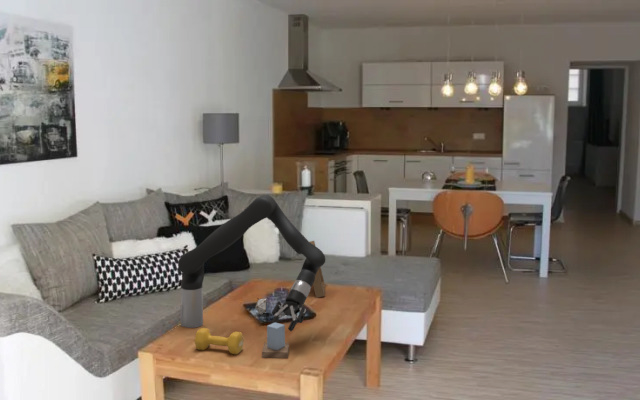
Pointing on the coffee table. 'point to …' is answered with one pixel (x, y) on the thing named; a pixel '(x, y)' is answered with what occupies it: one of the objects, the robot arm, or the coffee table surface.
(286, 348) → the slab
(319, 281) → the photo frame
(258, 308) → the game die
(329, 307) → the coffee table surface
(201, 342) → the dumbbell
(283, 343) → the pillar
